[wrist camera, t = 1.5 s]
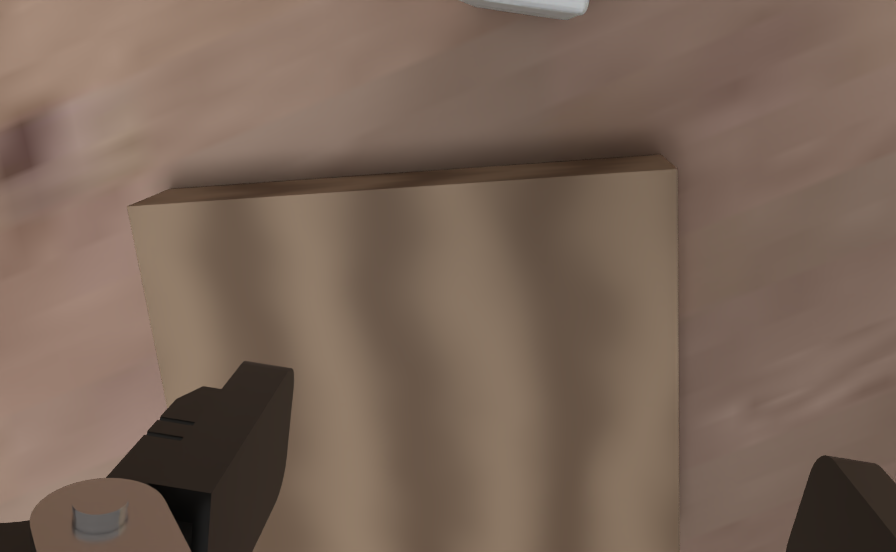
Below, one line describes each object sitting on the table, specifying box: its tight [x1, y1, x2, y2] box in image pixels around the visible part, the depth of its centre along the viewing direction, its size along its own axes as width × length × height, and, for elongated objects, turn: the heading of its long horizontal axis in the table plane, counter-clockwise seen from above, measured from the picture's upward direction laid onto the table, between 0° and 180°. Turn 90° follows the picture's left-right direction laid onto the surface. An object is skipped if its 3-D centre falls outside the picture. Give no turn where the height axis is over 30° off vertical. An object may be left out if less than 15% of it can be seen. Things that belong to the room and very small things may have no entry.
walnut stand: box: [127, 154, 680, 552], centre depth 36 cm, size 22×18×4 cm
